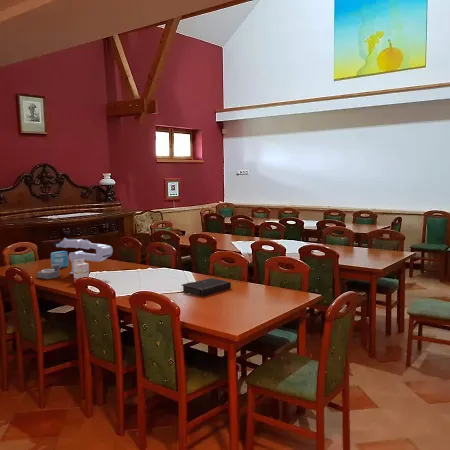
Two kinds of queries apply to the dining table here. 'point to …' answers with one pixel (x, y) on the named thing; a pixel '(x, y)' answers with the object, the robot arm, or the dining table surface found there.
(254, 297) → the dining table surface
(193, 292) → the diary
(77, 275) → the ink cartridge box
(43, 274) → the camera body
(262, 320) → the dining table surface
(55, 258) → the data package
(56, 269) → the lens
